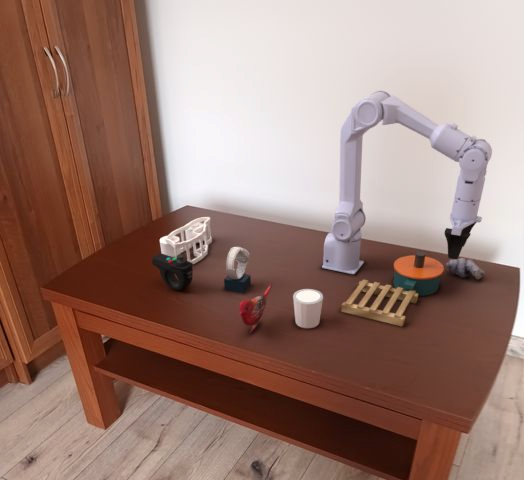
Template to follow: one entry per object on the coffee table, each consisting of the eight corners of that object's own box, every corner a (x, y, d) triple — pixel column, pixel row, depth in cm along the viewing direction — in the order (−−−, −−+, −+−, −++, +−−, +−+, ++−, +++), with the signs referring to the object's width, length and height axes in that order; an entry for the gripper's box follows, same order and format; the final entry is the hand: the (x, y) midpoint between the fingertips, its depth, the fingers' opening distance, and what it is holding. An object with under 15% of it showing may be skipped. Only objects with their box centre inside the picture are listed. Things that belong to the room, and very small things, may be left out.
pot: (384, 294, 133) (386, 277, 130) (403, 267, 145) (405, 250, 142) (429, 304, 129) (432, 287, 126) (444, 275, 140) (448, 258, 137)
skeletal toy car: (197, 236, 165) (195, 213, 160) (226, 243, 160) (224, 220, 155) (154, 261, 151) (150, 237, 147) (183, 270, 146) (180, 246, 142)
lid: (387, 275, 132) (389, 259, 129) (401, 255, 141) (403, 240, 138) (436, 285, 127) (439, 269, 125) (447, 264, 136) (451, 248, 133)
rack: (341, 311, 127) (341, 302, 126) (359, 287, 136) (360, 278, 135) (402, 326, 121) (403, 317, 120) (417, 300, 130) (419, 291, 129)
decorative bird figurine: (235, 343, 118) (232, 304, 112) (267, 304, 131) (266, 268, 125) (247, 345, 117) (245, 307, 111) (277, 306, 130) (277, 270, 124)
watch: (253, 282, 140) (252, 243, 134) (241, 296, 134) (239, 257, 128) (234, 278, 142) (232, 240, 135) (221, 292, 136) (218, 253, 129)
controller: (187, 297, 135) (182, 261, 129) (153, 284, 141) (147, 249, 135) (198, 290, 137) (194, 255, 132) (164, 277, 143) (159, 243, 138)
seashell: (482, 283, 139) (444, 276, 143) (488, 263, 138) (449, 257, 143) (481, 279, 134) (441, 272, 138) (487, 258, 134) (447, 252, 138)
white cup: (313, 332, 120) (314, 306, 116) (287, 324, 123) (287, 298, 119) (327, 318, 125) (328, 292, 121) (301, 311, 128) (301, 285, 124)
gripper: (480, 211, 114) (467, 267, 122) (491, 189, 124) (478, 243, 132) (446, 206, 117) (436, 261, 125) (460, 185, 127) (450, 238, 135)
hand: (456, 251), depth 129 cm, fingers open, 7 cm apart
